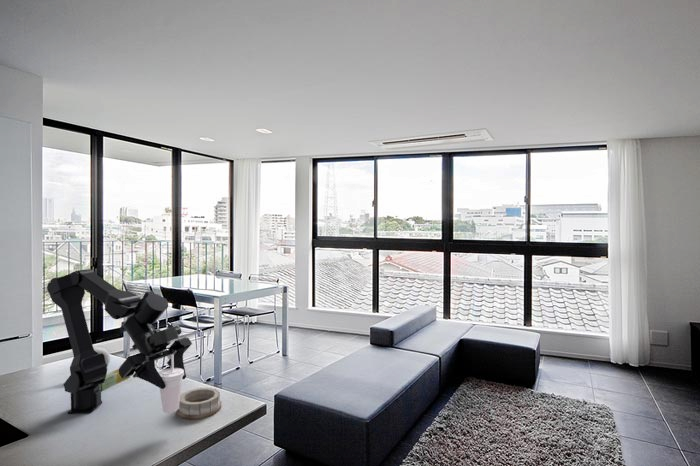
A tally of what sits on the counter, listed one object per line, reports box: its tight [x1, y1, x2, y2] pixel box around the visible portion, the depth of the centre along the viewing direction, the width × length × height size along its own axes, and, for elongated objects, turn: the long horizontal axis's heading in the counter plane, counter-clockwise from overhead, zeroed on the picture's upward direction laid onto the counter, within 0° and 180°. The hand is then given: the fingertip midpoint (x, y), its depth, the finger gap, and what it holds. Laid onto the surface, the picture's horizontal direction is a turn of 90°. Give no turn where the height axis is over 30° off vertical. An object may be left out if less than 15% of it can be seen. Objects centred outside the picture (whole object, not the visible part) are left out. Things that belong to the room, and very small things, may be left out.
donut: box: [93, 347, 111, 368], centre depth 139 cm, size 10×4×10 cm, turn 140°
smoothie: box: [158, 355, 184, 414], centre depth 102 cm, size 6×6×14 cm
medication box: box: [99, 368, 131, 392], centre depth 132 cm, size 12×3×4 cm, turn 166°
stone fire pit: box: [176, 387, 222, 421], centre depth 115 cm, size 12×12×4 cm
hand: (174, 383), depth 101 cm, fingers closed on smoothie, 6 cm apart
